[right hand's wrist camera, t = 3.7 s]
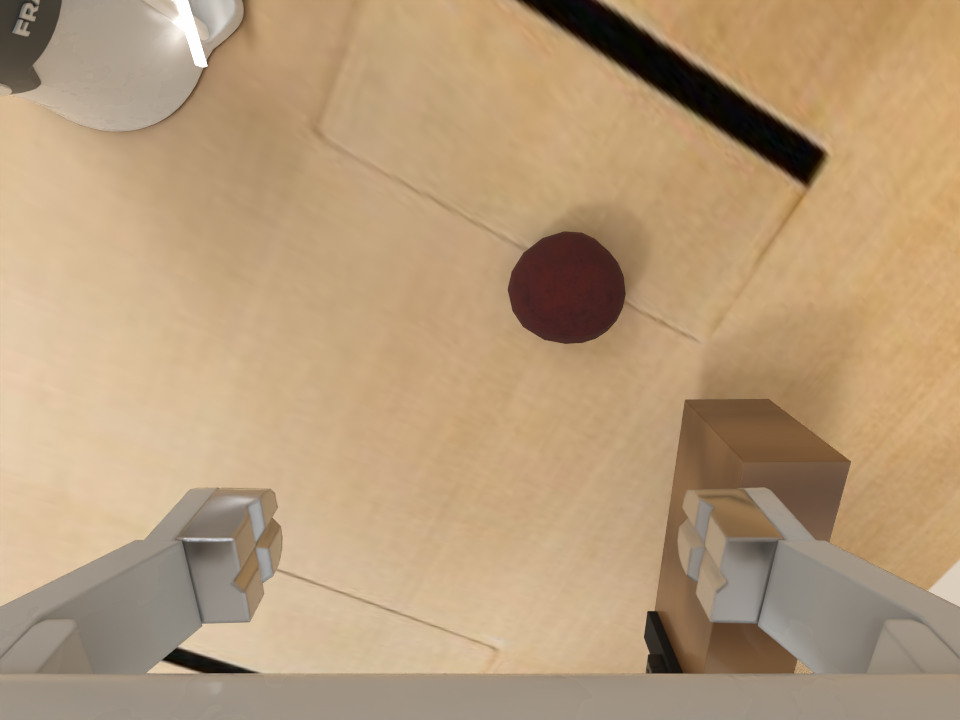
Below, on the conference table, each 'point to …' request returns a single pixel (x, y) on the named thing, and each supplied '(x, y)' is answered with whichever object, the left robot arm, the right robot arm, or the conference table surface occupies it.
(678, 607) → the block
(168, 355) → the conference table surface
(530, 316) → the dark maroon ball
